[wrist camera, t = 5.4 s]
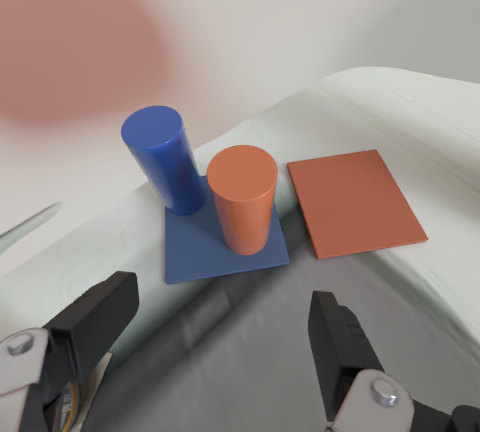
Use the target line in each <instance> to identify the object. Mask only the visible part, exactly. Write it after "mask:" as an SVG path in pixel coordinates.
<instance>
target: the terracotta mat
mask: <svg viewBox="0 0 480 432" xmlns="http://www.w3.org/2000/svg"><path fill="white" fill-rule="evenodd" d="M287 167H288V170H289V174H290V177H291V180H292V183H293V186H294V189H295V192H296V195H297V198H298V202H299V205H300V208H301V211H302V214H303V217H304V220H305V223H306V226H307V229H308V233H309V236H310V239H311V242H312V245H313V248H314V251H315V254H316V257H317V259H323V258H329V257H335V256H341V255H347V254H353V253H359V252H365V251H371V250H377V249H383V248H389V247H395V246H401V245H407V244H413V243H419V242H425V241H427V240H429V239H428V237H427V236H426V234H425V232H424V230H423V229H422V227H421V225H420V224H419V222H418V220H417V218H416V217H415V215H414V213H413V211H412V210H411V208H410V206H409V205H408V203H407V201H406V199H405V198H404V196H403V194H402V193H401V191H400V189H399V187H398V186H397V184H396V182H395V180H394V179H393V177H392V175H391V174H390V172H389V170H388V168H387V167H386V165H385V163H384V161H383V160H382V158H381V156H380V155H379V153H378V151H377V150H370V151H363V152H357V153H350V154H344V155H337V156H331V157H324V158H317V159H311V160H304V161H298V162H291V163H288V164H287Z"/></svg>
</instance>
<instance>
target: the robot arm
mask: <svg viewBox="0 0 480 432" xmlns="http://www.w3.org/2000/svg"><path fill="white" fill-rule="evenodd" d="M138 307H139V294H138V284H137V276H136V274H135V273H133V272H123V271H117V272H115V273H114V274H113V275H111V276H110V277H109V278H108V279H107V280H106V281H102V282H100V283H98V284H96V285H94V286H92V287H91V288H89V289H88V290H87V291H86V292H85V293H83V294H82V296H80V297H78V298H77V299H76V300H75V301H74V302H73V303H71V304H70V305H69V306H67V307H66V308H65V309H64V310H63V311H61V312H60V313H59V314H58V315H56V316H55V317H54V318H53V319H51V320H50V321H49V322H48V323H47V324H45V325H44V326H43V327H42V328H29V329H25V330H22V331H19V332H17V333H15V334H12V335H10V336H9V337H7V338H5V339H4V340H2V341H1V342H0V432H60V428H61V418H62V409H63V399H64V393H63V389H64V387H65V386H66V385H67V384H68V383H69V382H71V383H78V384H83V383H84V381H85V380H86V379H87V378H88V376H89V375H90V374H91V372H92V371H93V370H94V368H95V367H96V366H97V365H98V363H99V362H100V361H101V359H102V358H103V357H104V355H105V354H106V353H107V351H108V350H109V349H110V348H111V346H112V345H113V344H114V342H115V341H116V340H117V338H118V337H119V336H120V335H121V333H122V332H123V331H124V329H125V328H126V327H127V325H128V324H129V323H130V321H131V320H132V319H133V318H134V316H135V315H136V313H137V311H138ZM308 334H309V339H310V344H311V348H312V353H313V357H314V362H315V366H316V371H317V376H318V380H319V385H320V389H321V394H322V398H323V403H324V407H325V412H326V416H327V421H329V422H333V423H332V425H331V427H326V428H325V430H324V432H480V409H478V408H476V407H472V406H467V405H460V406H457V407H456V408H454V410H453V412H452V414H451V415H448V414H446V413H443V412H441V411H438V410H436V409H433V408H431V407H429V406H426V405H424V404H421V403H419V402H417V401H415V400H413V399H412V398H411V396H410V394H409V393H408V391H407V390H406V389H405V388H404V387H403V385H401V384H400V383H399V382H398V381H397V380H396V379H394V378H393V377H391V376H390V375H388V374H386V373H385V371H384V369H383V367H382V365H381V364H380V362H379V360H378V358H377V356H376V354H375V352H374V350H373V348H372V346H371V344H370V342H369V340H368V339H367V337H366V335H365V333H364V331H363V329H362V328H361V325H360V323H359V321H358V319H357V317H356V315H354V314H353V313H352V312H351V311H350V310H349V309H348V308H347V307H346V306H339V305H338V303H337V301H336V299H335V297H334V294H333V293H332V292H323V291H313V294H312V300H311V306H310V313H309V319H308Z"/></svg>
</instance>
